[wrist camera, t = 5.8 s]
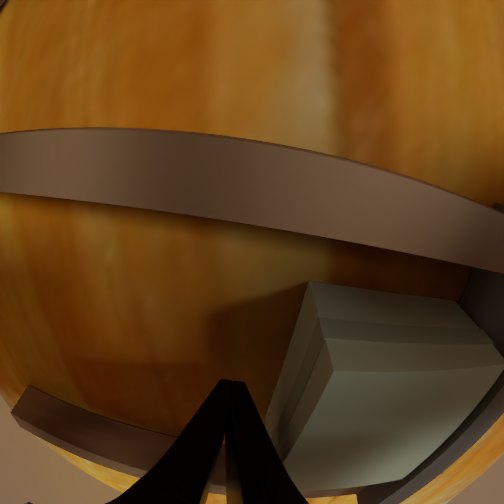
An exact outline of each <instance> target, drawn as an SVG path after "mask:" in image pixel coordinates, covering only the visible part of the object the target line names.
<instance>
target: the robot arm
mask: <svg viewBox="0 0 504 504" xmlns="http://www.w3.org/2000/svg"><path fill="white" fill-rule="evenodd" d="M224 436H225V468H226V498H227V504H309V503H308V502H307V501H306V499H305V498H304V497H303V495H302V494H301V493H300V491H299V490H298V488H297V487H296V485H295V484H294V482H293V481H292V479H291V478H290V476H289V474H288V472H287V471H286V469H285V467H284V465H283V463H282V461H281V459H279V455H278V453H277V451H276V449H275V447H274V445H273V443H272V440H271V438H270V436H269V434H268V432H267V430H266V428H265V426H264V423H263V421H262V419H261V417H260V415H259V413H258V410H257V408H256V406H255V404H254V401H253V399H252V397H251V395H250V392H249V390H248V388H247V386H246V384H245V382H241V381H233V383H232V380H227V379H220V380H219V382H218V383H217V384H216V386H215V387H214V389H213V390H212V391H211V393H210V394H209V396H208V397H207V398H206V400H205V401H204V402H203V404H202V405H201V407H200V408H199V409H198V411H197V412H196V413H195V415H194V416H193V417H192V419H191V420H190V421H189V423H188V424H187V425H186V427H185V428H184V429H183V431H182V432H181V433H180V435H179V436H178V437H177V439H176V440H175V441H174V443H173V445H171V446H170V448H169V449H168V450H167V451H166V453H165V454H164V455H163V456H162V457H161V459H160V460H159V461H158V462H157V463H156V464H155V465H154V466H153V467H152V468H151V469H150V470H149V471H148V472H147V473H146V474H145V475H144V476H142V477H141V478H140V479H139V480H138V481H137V482H136V483H135V484H133V485H132V486H131V487H130V488H129V489H128V490H126V491H125V492H124V493H123V494H122V495H120V496H119V497H117V498H116V499H114V500H112V501H110V502H108V503H106V504H205V503H206V500H207V496H208V493H209V490H210V486H211V483H212V479H213V476H214V472H215V469H216V465H217V462H218V458H219V455H220V451H221V447H222V444H223V440H224ZM25 504H32V503H30V502H27V503H25Z"/></svg>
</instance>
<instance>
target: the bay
mask: <svg viewBox="0 0 504 504" xmlns="http://www.w3.org/2000/svg"><path fill="white" fill-rule="evenodd" d="M0 192H5V193H16V194H26V195H36V196H45V197H54V198H63V199H72V200H81V201H89V202H97V203H105V204H113V205H121V206H129V207H136V208H144V209H151V210H158V211H165V212H172V213H179V214H186V215H193V216H200V217H206V218H213V219H219V220H226V221H232V222H238V223H245V224H251V225H257V226H263V227H269V228H275V229H281V230H287V231H293V232H298V233H304V234H310V235H316V236H321V237H327V238H332V239H338V240H343V241H349V242H354V243H359V244H364V245H370V246H375V247H380V248H385V249H390V250H395V251H400V252H405V253H410V254H415V255H420V256H425V257H430V258H434V259H439V260H444V261H448V262H453V263H458V264H462V265H467V266H471V267H474V269H473V272H472V274H471V277H470V279H469V281H468V284H467V286H466V288H465V291H464V293H463V295H462V297H461V300H460V302H459V304H458V305H459V306H460V307H461V308H462V309H463V310H464V312H465V313H466V314H467V315H468V316H469V317H470V318H471V319H472V321H473V322H474V323H475V324H476V325H477V326H478V327H479V329H483V330H484V331H485V333H486V334H487V335H488V336H489V337H490V339H491V340H492V341H493V342H494V344H493V345H494V347H495V348H496V349H497V350H498V352H499V353H500V354H501V355H502V357H503V358H504V206H503V205H501V204H499V203H496V202H495V206H494V209H493V208H491V207H489V206H486V205H484V204H482V203H479V202H477V201H475V200H472V199H470V198H467V197H465V196H462V195H459V194H457V193H454V192H452V191H449V190H446V189H444V188H441V187H438V186H435V185H432V184H429V183H427V182H424V181H421V180H418V179H415V178H412V177H408V176H405V175H402V174H399V173H396V172H392V171H389V170H386V169H382V168H379V167H375V166H372V165H368V164H364V163H360V162H357V161H353V160H349V159H345V158H341V157H337V156H332V155H328V154H324V153H319V152H315V151H310V150H305V149H301V148H296V147H290V146H285V145H280V144H274V143H269V142H263V141H257V140H250V139H244V138H237V137H229V136H222V135H214V134H205V133H195V132H185V131H173V130H159V129H142V128H109V127H86V128H54V129H38V130H25V131H15V132H6V133H0ZM503 413H504V370H503V371H502V373H501V374H500V375H499V377H498V378H497V380H496V381H495V382H494V384H493V385H492V387H491V388H490V389H489V391H488V392H487V393H486V394H485V396H484V397H483V398H482V400H481V401H480V402H479V403H478V405H477V406H476V407H475V408H474V409H473V411H472V412H471V413H470V414H469V415H468V416H467V418H466V419H465V420H464V421H463V422H462V423H461V424H460V425H459V427H458V428H457V429H456V430H455V431H454V432H453V433H452V434H451V435H450V436H449V437H448V438H447V439H446V440H445V441H444V442H443V443H442V444H441V445H440V446H439V447H438V448H437V449H436V450H435V451H434V452H433V453H432V454H431V455H430V456H429V457H427V458H426V459H425V460H424V461H423V462H422V463H421V464H420V465H419V466H417V467H416V468H415V469H414V470H413V471H411V472H410V473H409V474H408V475H407V476H405V477H404V478H403V479H400V480H395V481H390V482H385V483H379V484H373V485H366V486H359V487H351V488H342V489H330V490H313V491H300V493H301V494H302V495H303V497H304V498H316V497H331V496H341V495H350V494H356V495H357V501H358V504H399V503H401V502H402V501H404V500H405V499H407V498H408V497H410V496H411V495H413V494H414V493H415V492H417V491H418V490H420V489H421V488H422V487H424V486H425V485H427V484H428V483H429V482H431V481H432V480H433V479H434V478H436V477H437V476H438V475H440V474H441V473H442V472H443V471H444V470H446V469H447V468H448V467H449V466H450V465H452V464H453V463H454V462H455V461H456V460H457V459H459V458H460V457H461V456H462V455H463V454H464V453H465V452H466V451H467V450H468V449H469V448H470V447H472V446H473V445H474V444H475V443H476V442H477V441H478V440H479V439H480V438H481V437H482V436H483V435H484V434H485V433H486V432H487V430H488V429H489V428H490V427H491V426H492V425H493V424H494V423H495V422H496V421H497V420H498V418H499V417H500V416H501V415H502V414H503ZM11 414H12V416H13V417H14V419H15V420H16V421H17V422H18V424H19V425H20V427H22V428H24V429H25V430H27V431H29V432H30V433H32V434H34V435H36V436H38V437H40V438H42V439H43V440H45V441H47V442H49V443H51V444H53V445H55V446H57V447H59V448H62V449H64V450H66V451H68V452H70V453H72V454H75V455H77V456H79V457H82V458H84V459H87V460H89V461H92V462H94V463H97V464H99V465H102V466H105V467H108V468H110V469H113V470H116V471H119V472H122V473H125V474H129V475H132V476H135V477H139V478H141V477H142V476H144V475H145V474H146V473H147V472H148V471H149V470H150V469H151V468H152V467H153V466H154V465H155V464H156V463H157V462H158V461H159V460H160V459H161V457H162V456H163V455H164V454H165V453H166V451H167V450H168V449H169V448H170V446H171V445H173V443H174V441H175V440H176V439H177V437H173V436H168V435H164V434H160V433H156V432H152V431H148V430H144V429H140V428H137V427H133V426H130V425H126V424H123V423H120V422H117V421H114V420H111V419H108V418H105V417H102V416H99V415H96V414H93V413H91V412H88V411H85V410H83V409H80V408H78V407H75V406H73V405H70V404H68V403H66V402H63V401H61V400H59V399H56V398H54V397H52V396H50V395H48V394H45V393H43V392H41V391H39V390H37V389H35V388H33V387H31V386H28V387H27V389H26V390H25V391H24V393H23V394H22V396H21V397H20V399H19V400H18V402H17V403H16V405H15V406H14V408H13V410H12V411H11ZM209 493H215V494H223V495H226V468H225V446H223V445H222V447H221V451H220V455H219V458H218V462H217V465H216V469H215V472H214V476H213V479H212V483H211V486H210V490H209Z"/></svg>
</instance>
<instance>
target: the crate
mask: <svg viewBox="0 0 504 504" xmlns="http://www.w3.org/2000/svg"><path fill="white" fill-rule="evenodd" d="M493 344H494V342H493V341H492V340H491V339H490V337H489V336H488V335H487V334H486V333H485V331H484V330H483V329H479V327H478V326H477V325H476V324H475V323H474V322H473V321H472V319H471V318H470V317H469V316H468V315H467V314H466V313H465V312H464V310H463V309H462V308H461V307H460V306H459V305H458V304H457V303H456V302H455V301H454V300H447V299H439V298H431V297H423V296H415V295H407V294H399V293H392V292H384V291H377V290H369V289H362V288H355V287H348V286H341V285H334V284H327V283H320V282H313V281H308V285H307V288H306V292H305V295H304V299H303V302H302V306H301V309H300V312H299V316H298V319H297V322H296V326H295V329H294V332H293V335H292V339H291V342H290V345H289V348H288V351H287V354H286V357H285V360H284V363H283V366H282V369H281V372H280V375H279V378H278V381H277V384H276V387H275V390H274V393H273V396H272V399H271V401H270V404H269V407H268V410H267V413H266V415H265V428H266V430H267V432H268V434H269V436H270V438H271V440H272V443H273V445H274V447H275V449H276V451H277V453H278V455H279V459H281V461H282V463H283V465H284V467H285V469H286V471H287V472H288V474H289V476H290V478H291V479H292V481H293V482H294V484H295V485H296V487H297V488H298V490H299V491H313V490H330V489H342V488H351V487H359V486H366V485H373V484H379V483H385V482H390V481H395V480H400V479H403V478H404V477H405V476H407V475H408V474H409V473H410V472H411V471H413V470H414V469H415V468H416V467H417V466H419V465H420V464H421V463H422V462H423V461H424V460H425V459H426V458H427V457H429V456H430V455H431V454H432V453H433V452H434V451H435V450H436V449H437V448H438V447H439V446H440V445H441V444H442V443H443V442H444V441H445V440H446V439H447V438H448V437H449V436H450V435H451V434H452V433H453V432H454V431H455V430H456V429H457V428H458V427H459V425H460V424H461V423H462V422H463V421H464V420H465V419H466V418H467V416H468V415H469V414H470V413H471V412H472V411H473V409H474V408H475V407H476V406H477V405H478V403H479V402H480V401H481V400H482V398H483V397H484V396H485V394H486V393H487V392H488V391H489V389H490V388H491V387H492V385H493V384H494V382H495V381H496V380H497V378H498V377H499V375H500V374H501V373H502V371H503V370H504V358H503V357H502V355H501V354H500V353H499V352H498V350H497V349H496V348H495V347H494V345H493Z"/></svg>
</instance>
